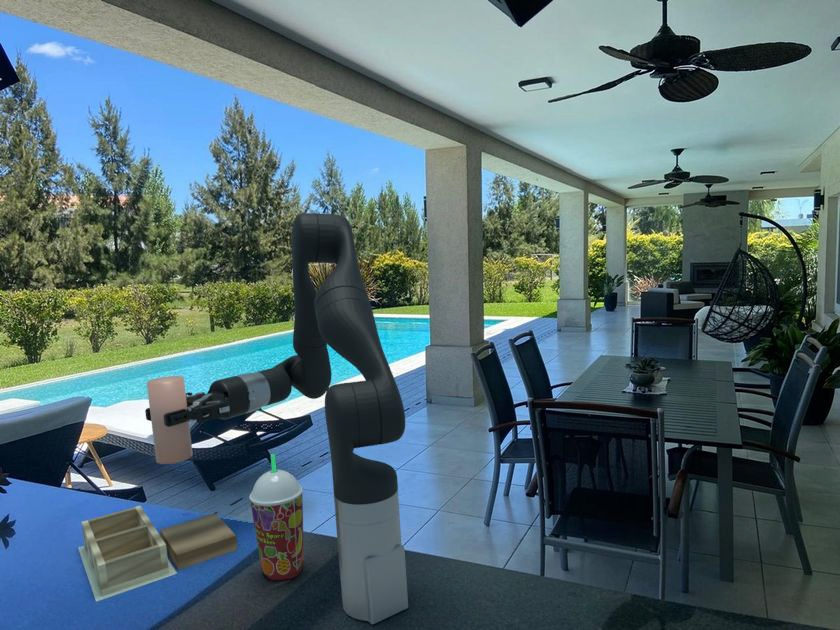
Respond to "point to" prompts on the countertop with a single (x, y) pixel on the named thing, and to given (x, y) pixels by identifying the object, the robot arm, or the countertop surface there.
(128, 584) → the caddy
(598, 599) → the countertop surface
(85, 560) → the mat
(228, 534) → the board
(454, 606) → the countertop surface
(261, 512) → the smoothie
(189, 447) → the pink cylinder
